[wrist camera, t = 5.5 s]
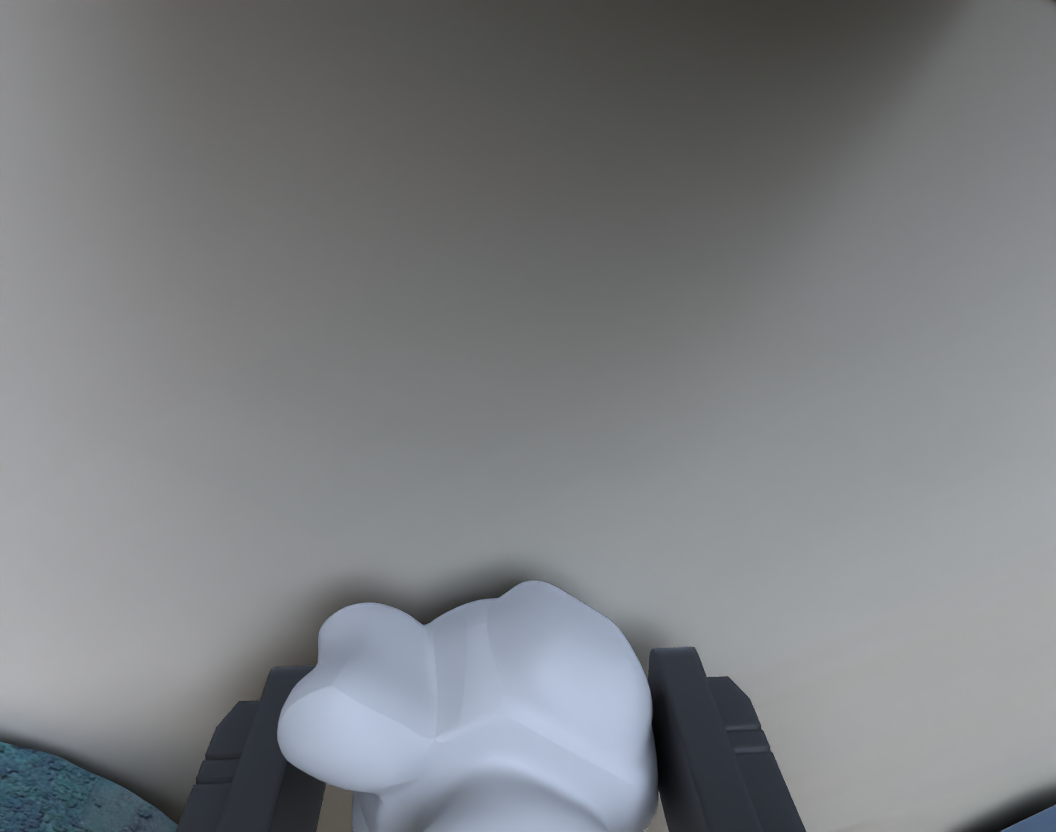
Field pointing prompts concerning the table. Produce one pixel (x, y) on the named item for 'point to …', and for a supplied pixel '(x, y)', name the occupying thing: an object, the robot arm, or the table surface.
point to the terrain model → (67, 798)
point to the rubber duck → (479, 718)
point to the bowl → (1036, 822)
